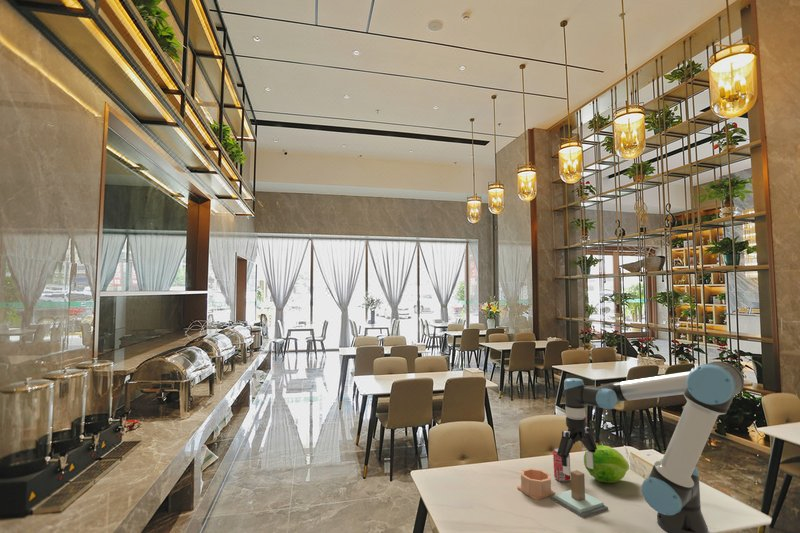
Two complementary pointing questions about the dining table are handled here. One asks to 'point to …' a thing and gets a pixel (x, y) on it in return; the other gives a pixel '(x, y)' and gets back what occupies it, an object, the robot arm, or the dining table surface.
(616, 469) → the lettuce
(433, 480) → the dining table surface
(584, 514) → the mat
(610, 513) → the dining table surface
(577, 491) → the lid
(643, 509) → the dining table surface
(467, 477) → the dining table surface
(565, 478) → the soda can
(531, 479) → the bowl
